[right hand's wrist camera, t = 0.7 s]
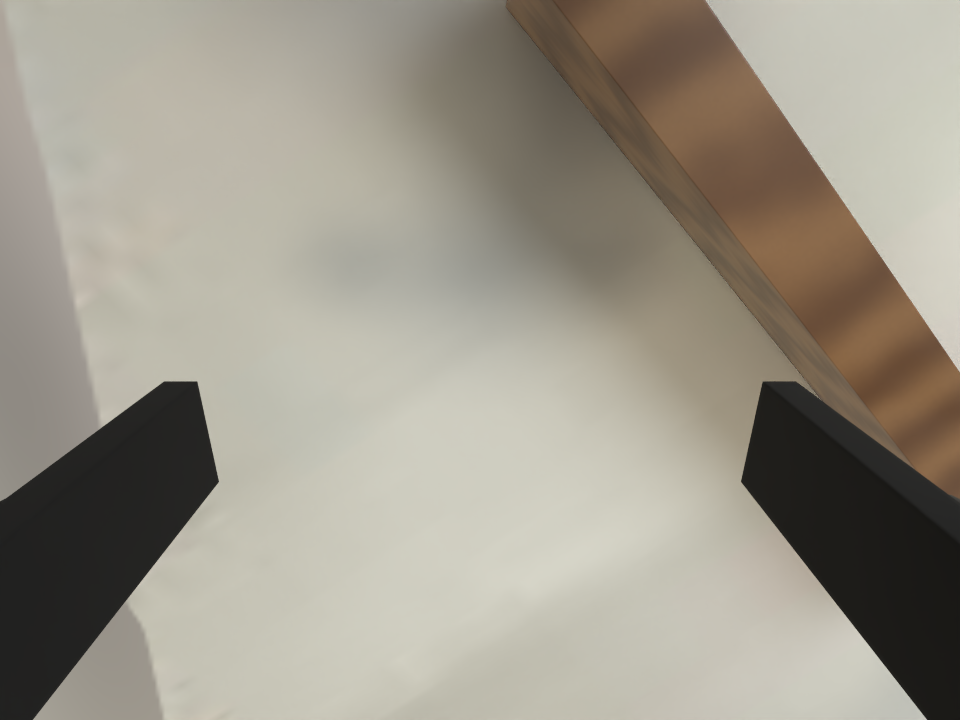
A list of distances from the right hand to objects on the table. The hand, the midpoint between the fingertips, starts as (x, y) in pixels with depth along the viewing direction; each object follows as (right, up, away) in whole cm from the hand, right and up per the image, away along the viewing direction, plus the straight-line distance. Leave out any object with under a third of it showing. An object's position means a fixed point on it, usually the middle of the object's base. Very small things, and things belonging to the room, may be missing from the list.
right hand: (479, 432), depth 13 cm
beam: (+21, +5, +23) cm, 31 cm away
